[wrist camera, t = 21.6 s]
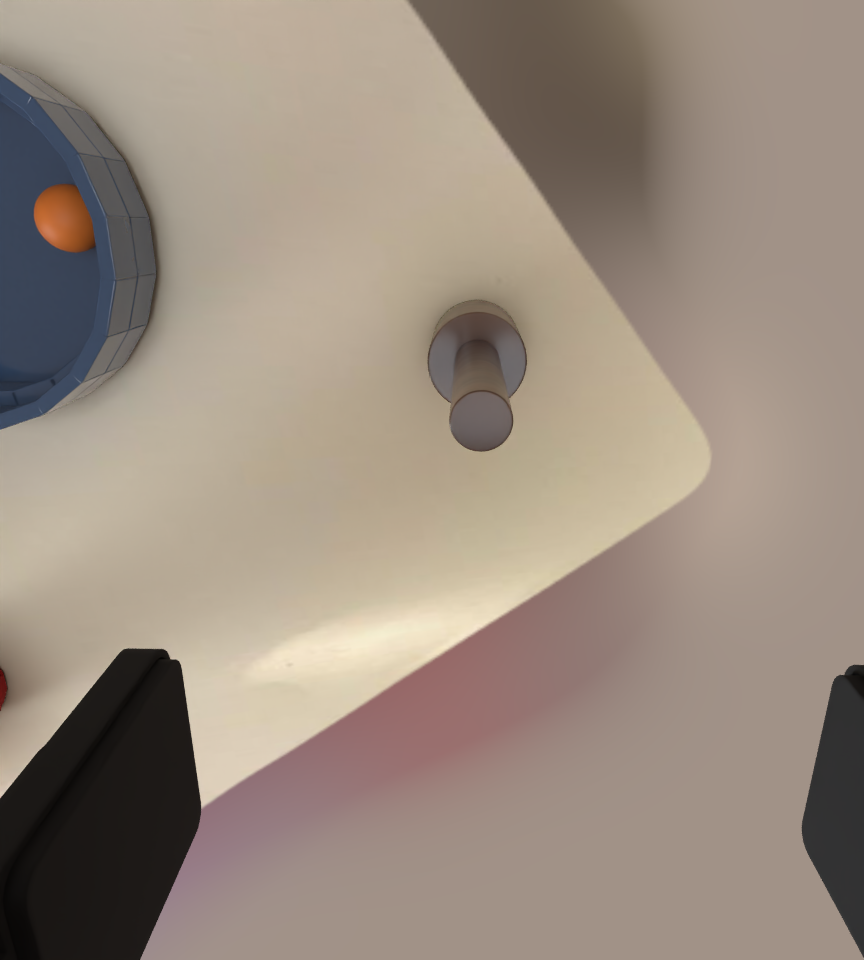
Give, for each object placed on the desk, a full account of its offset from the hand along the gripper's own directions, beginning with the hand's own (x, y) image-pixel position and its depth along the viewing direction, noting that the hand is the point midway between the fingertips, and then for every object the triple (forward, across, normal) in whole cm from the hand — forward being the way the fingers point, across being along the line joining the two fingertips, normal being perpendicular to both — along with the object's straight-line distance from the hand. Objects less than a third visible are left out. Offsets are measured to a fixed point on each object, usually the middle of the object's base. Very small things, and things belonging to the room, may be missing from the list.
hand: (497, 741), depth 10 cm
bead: (+26, +19, -7) cm, 33 cm away
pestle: (+28, 0, -1) cm, 28 cm away
